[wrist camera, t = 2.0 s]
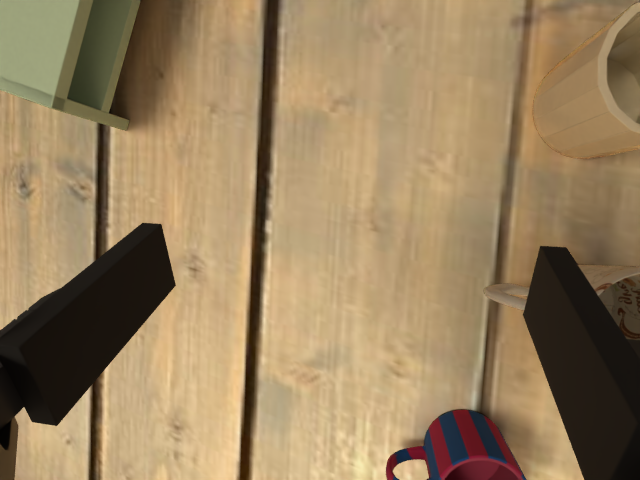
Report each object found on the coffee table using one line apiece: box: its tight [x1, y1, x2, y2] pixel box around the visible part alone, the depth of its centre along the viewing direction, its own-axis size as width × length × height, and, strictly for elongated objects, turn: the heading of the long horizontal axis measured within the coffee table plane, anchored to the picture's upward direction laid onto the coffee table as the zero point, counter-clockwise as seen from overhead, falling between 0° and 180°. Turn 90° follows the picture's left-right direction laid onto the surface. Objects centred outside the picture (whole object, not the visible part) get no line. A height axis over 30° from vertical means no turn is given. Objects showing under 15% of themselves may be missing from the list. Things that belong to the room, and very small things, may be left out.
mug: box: [484, 265, 640, 340], centre depth 29 cm, size 8×13×10 cm, turn 82°
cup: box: [386, 410, 526, 480], centre depth 33 cm, size 7×10×7 cm
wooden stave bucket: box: [533, 1, 640, 159], centre depth 28 cm, size 8×8×10 cm
